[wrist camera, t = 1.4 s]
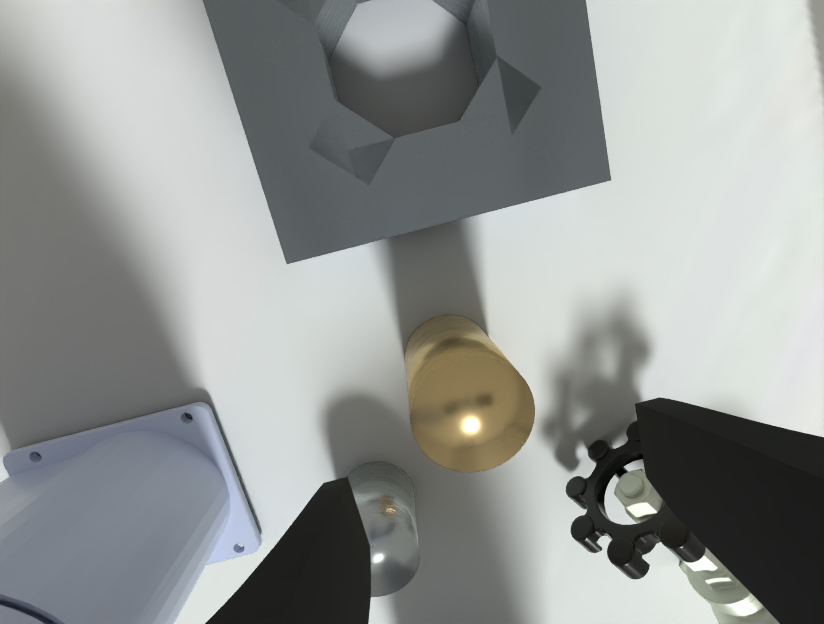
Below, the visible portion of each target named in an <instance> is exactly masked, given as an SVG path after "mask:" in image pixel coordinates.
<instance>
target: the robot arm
mask: <svg viewBox="0 0 824 624" xmlns="http://www.w3.org/2000/svg"><path fill="white" fill-rule="evenodd" d="M635 406H636V413H637V420H638V427H639V433H640V440H641V447H642V454H643V461H644V468H645V474H646V478H647V479H648V481H649V482H650V483H651V485H652V486H653V487H654V489H655V490H656V491H657V493H658V494H659V495H660V497H661V498H662V499H663V501H664V502H665V503H666V504H667V506H668V507H669V508H670V509H671V511H672V512H673V513H674V514H675V516H676V517H677V518H678V519H679V520H680V521H681V522H682V523H683V524H684V525H685V526H686V527H687V528H688V529H689V530H690V531H691V532H692V533H693V534H694V535H695V536H696V538H697V539H698V540H699V541H700V542H701V543H702V544H703V545H704V546H705V547H706V548H707V549H708V550H709V551H710V552H711V553H712V554H713V555H714V556H715V557H716V558H717V559H718V560H719V561H720V562H721V563H722V564H723V565H724V566H725V567H726V568H727V569H728V570H729V571H730V572H731V573H732V574H733V575H734V576H735V577H736V578H737V579H738V580H739V581H740V583H741V584H742V585H743V586H744V587H745V588H746V589H747V590H748V591H749V592H750V593H751V594H752V595H753V596H754V597H755V598H756V599H757V600H758V601H759V602H760V603H761V604H762V605H763V606H764V607H765V608H766V609H767V610H768V611H769V613H770V614H771V615H772V616H773V617H774V618H775V619H776V620H777V621H778V622H779V623H780V624H824V437H819V436H815V435H811V434H806V433H802V432H797V431H793V430H788V429H784V428H780V427H776V426H772V425H768V424H764V423H760V422H756V421H752V420H748V419H745V418H741V417H737V416H733V415H730V414H726V413H722V412H718V411H715V410H711V409H707V408H703V407H700V406H696V405H692V404H688V403H684V402H680V401H675V400H671V399H665V398H656V399H652V400H648V401H644V402H640V403H636V404H635ZM185 413H189V414H191V416H192V418H193V420H189V419H187V418H186V416H185ZM37 453H39V454H40V455H41V457H40V456H38V454H37ZM3 463H4V466H5V468H6V470H7V472H8V474H9V476H10V477H8V478H7V479H5V480H4V481H2V482H1V483H0V624H174V622H175V621H176V619H177V617H178V615H179V613H180V611H181V610H182V608H183V606H184V604H185V602H186V601H187V599H188V597H189V595H190V593H191V591H192V590H193V588H194V586H195V584H196V582H197V580H198V579H199V577H200V575H201V573H202V571H203V570H204V568H205V566H206V565H209V564H213V563H217V562H221V561H225V560H229V559H233V558H237V557H241V556H245V555H249V554H253V553H255V552H257V550H258V549H259V547H260V545H261V542H262V540H261V536H260V533H259V531H258V528H257V526H256V523H255V520H254V518H253V515H252V513H251V510H250V507H249V505H248V502H247V500H246V497H245V494H244V492H243V489H242V487H241V484H240V482H239V479H238V476H237V474H236V471H235V469H234V466H233V463H232V461H231V458H230V456H229V453H228V451H227V448H226V445H225V443H224V440H223V438H222V435H221V432H220V430H219V427H218V425H217V422H216V420H215V417H214V414H213V412H212V409H211V408H210V406H209V405H208V404H206V403H203V402H196V403H192V404H188V405H184V406H180V407H176V408H173V409H169V410H165V411H161V412H157V413H153V414H149V415H145V416H141V417H137V418H134V419H130V420H126V421H122V422H118V423H114V424H110V425H106V426H102V427H99V428H95V429H91V430H87V431H83V432H79V433H75V434H71V435H67V436H64V437H60V438H56V439H52V440H48V441H44V442H40V443H36V444H32V445H28V446H25V447H21V448H17V449H14V450H12V451H10V452H9V453H7V454H6V455H5V456H4V458H3ZM237 544H242V545H243V546H244V547H240V546H238V545H237ZM370 598H371V553H370V544H369V541H368V538H367V535H366V532H365V529H364V526H363V522H362V519H361V516H360V513H359V510H358V507H357V504H356V501H355V498H354V495H353V491H352V488H351V485H350V482H349V479H348V477H346V478H342V479H338V480H334V481H330V482H326V483H323V485H322V486H321V487H320V488H319V489H318V491H317V492H316V493H315V494H314V496H313V497H312V498H311V500H310V501H309V502H308V504H307V505H306V506H305V508H304V509H303V510H302V512H301V513H300V514H299V516H298V517H297V518H296V520H295V521H294V522H293V523H292V525H291V526H290V527H289V529H288V530H287V531H286V532H285V534H284V535H283V536H282V538H281V539H280V540H279V542H278V543H277V544H276V545H275V547H274V548H273V549H272V550H271V551H270V553H269V554H268V555H267V556H266V557H265V558H264V560H263V561H262V562H261V563H260V564H259V566H258V567H257V568H256V569H255V570H254V572H253V573H252V574H251V575H250V576H249V577H248V579H247V580H246V581H245V582H244V583H243V584H242V586H241V587H240V588H239V589H238V590H237V591H236V592H235V593H234V594H233V595H232V597H231V598H230V599H229V600H228V601H227V602H226V603H225V604H224V605H223V606H222V607H221V608H220V609H219V610H218V611H217V612H216V613H215V614H214V615H213V616H212V617H211V618H210V619H209V620H208V621H207V622H206V623H205V624H368V620H369V610H370Z"/></svg>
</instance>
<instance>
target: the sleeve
mask: <svg viewBox="0 0 824 624" xmlns="http://www.w3.org/2000/svg"><path fill="white" fill-rule="evenodd" d="M347 477H348V479H349V482H350V485H351V488H352V491H353V495H354V498H355V501H356V504H357V507H358V510H359V513H360V516H361V519H362V522H363V526H364V529H365V532H366V535H367V538H368V541H369V544H370V553H371V597H378V596H385V595H388V594H391V593H394V592H396V591H398V590H400V589H401V588H403V587H404V586H405V585H406V584H407V583H408V582H409V581H410V580H411V579H412V578H413V576H414V575H415V573H416V571H417V568H418V565H419V545H418V533H417V522H416V510H415V499H414V489H413V485H412V482H411V480H410V478H409V477H408V476H407V474H406V473H405V472H404V471H403V470H401V469H400V468H398V467H397V466H395V465H392V464H389V463H385V462H371V463H367V464H363V465H361V466H359V467H357V468H356V469H354V470H353V471H352V472H351V473H350V474H349V475H348V476H347Z"/></svg>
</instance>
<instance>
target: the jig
mask: <svg viewBox="0 0 824 624" xmlns="http://www.w3.org/2000/svg"><path fill="white" fill-rule="evenodd" d="M366 1H369V0H203V2H204V5H205V8H206V12H207V15H208V18H209V21H210V24H211V27H212V30H213V34H214V37H215V40H216V43H217V46H218V49H219V52H220V56H221V59H222V62H223V65H224V68H225V71H226V74H227V78H228V81H229V84H230V87H231V90H232V93H233V96H234V100H235V103H236V106H237V109H238V112H239V115H240V118H241V122H242V125H243V128H244V131H245V134H246V137H247V140H248V144H249V147H250V150H251V153H252V156H253V159H254V163H255V166H256V169H257V172H258V175H259V178H260V181H261V185H262V188H263V191H264V194H265V197H266V200H267V203H268V207H269V210H270V213H271V216H272V219H273V222H274V225H275V229H276V232H277V235H278V238H279V241H280V244H281V247H282V251H283V254H284V257H285V260H286V263H287V264H289V263H293V262H297V261H301V260H305V259H309V258H312V257H316V256H320V255H324V254H328V253H332V252H336V251H339V250H343V249H347V248H351V247H355V246H359V245H363V244H366V243H370V242H374V241H378V240H382V239H386V238H390V237H394V236H397V235H401V234H405V233H409V232H413V231H417V230H421V229H424V228H428V227H432V226H436V225H440V224H444V223H448V222H451V221H455V220H459V219H463V218H467V217H471V216H475V215H479V214H482V213H486V212H490V211H494V210H498V209H502V208H506V207H509V206H513V205H517V204H521V203H525V202H529V201H533V200H537V199H540V198H544V197H548V196H552V195H556V194H560V193H564V192H567V191H571V190H575V189H579V188H583V187H587V186H591V185H594V184H598V183H602V182H606V181H610V180H611V176H610V169H609V162H608V155H607V148H606V141H605V134H604V127H603V120H602V113H601V106H600V98H599V91H598V84H597V77H596V70H595V63H594V56H593V49H592V42H591V35H590V28H589V21H588V14H587V7H586V0H433V1H434V2H436V3H437V4H438V5H440V6H441V7H443V8H444V9H445V10H447V11H448V12H450V13H451V14H453V15H454V16H455V17H457V18H458V19H460V20H461V21H462V22H464V23H465V24H466V26H467V31H468V36H469V41H470V46H471V51H472V56H473V61H474V66H475V71H476V76H477V81H478V86H479V87H478V89H477V90H476V92H475V94H474V96H473V97H472V99H471V101H470V103H469V104H468V106H467V108H466V110H465V111H464V113H463V115H462V116H461V118H460V120H459V121H458V122H454V123H450V124H447V125H443V126H439V127H435V128H431V129H427V130H424V131H420V132H416V133H412V134H408V135H404V136H401V137H397V138H394V137H392V136H391V135H389V134H387V133H386V132H384V131H383V130H381V129H380V128H378V127H377V126H375V125H373V124H372V123H370V122H369V121H367V120H366V119H364V118H362V117H361V116H359V115H358V114H356V113H355V112H353V111H352V110H350V109H348V108H347V107H345V106H344V105H342V104H341V103H340V102H339V98H338V95H337V91H336V87H335V83H334V80H333V76H332V72H331V68H330V65H329V61H328V60H329V58H330V56H331V54H332V52H333V50H334V48H335V46H336V44H337V42H338V40H339V38H340V36H341V34H342V33H343V31H344V29H345V27H346V25H347V23H348V21H349V19H350V17H351V15H352V13H353V11H354V9H355V7H356V5H357V4H358V3H362V2H366Z"/></svg>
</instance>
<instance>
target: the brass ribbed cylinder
mask: <svg viewBox="0 0 824 624" xmlns="http://www.w3.org/2000/svg"><path fill="white" fill-rule="evenodd" d="M405 366H406V377H407V388H408V399H409V410H410V421H411V428H412V432H413V435H414V438H415V440H416V442H417V444H418V445H419V447H420V448H421V450H422V451H423V452H424V453H425V454H426V455H427V456H428V457H429V458H430V459H431V460H433V461H434V462H436V463H437V464H439V465H441V466H443V467H445V468H448V469H451V470H454V471H460V472H479V471H484V470H488V469H491V468H494V467H496V466H499V465H501V464H502V463H504V462H506V461H507V460H509V459H510V458H511V457H513V456H514V455H515V454H516V453H517V452H518V451H519V450H520V449H521V447H522V446H523V445H524V444H525V442H526V440H527V439H528V437H529V435H530V432H531V430H532V427H533V423H534V417H535V406H534V399H533V396H532V392H531V390H530V388H529V386H528V384H527V383H526V381H525V379H524V378H523V377H522V376H521V375H520V374H519V372H518V371H517V370H516V369H515V368H514V367H513V365H512V364H511V363H510V362H509V361H508V360H507V358H506V357H505V356H504V355H503V354H502V353H501V351H500V350H499V349H498V348H497V347H496V346H495V344H494V343H493V342H492V341H491V340H490V339H489V337H488V336H487V335H486V334H485V333H484V332H483V330H482V329H481V328H480V327H479V326H478V325H477V324H475V323H474V322H472V321H471V320H469V319H467V318H464V317H461V316H456V315H443V316H438V317H435V318H432V319H430V320H428V321H426V322H424V323H423V324H422V325H420V326H419V327H418V328H417V329H416V330H415V331H414V333H413V334H412V336H411V337H410V339H409V341H408V344H407V347H406V351H405Z"/></svg>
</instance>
